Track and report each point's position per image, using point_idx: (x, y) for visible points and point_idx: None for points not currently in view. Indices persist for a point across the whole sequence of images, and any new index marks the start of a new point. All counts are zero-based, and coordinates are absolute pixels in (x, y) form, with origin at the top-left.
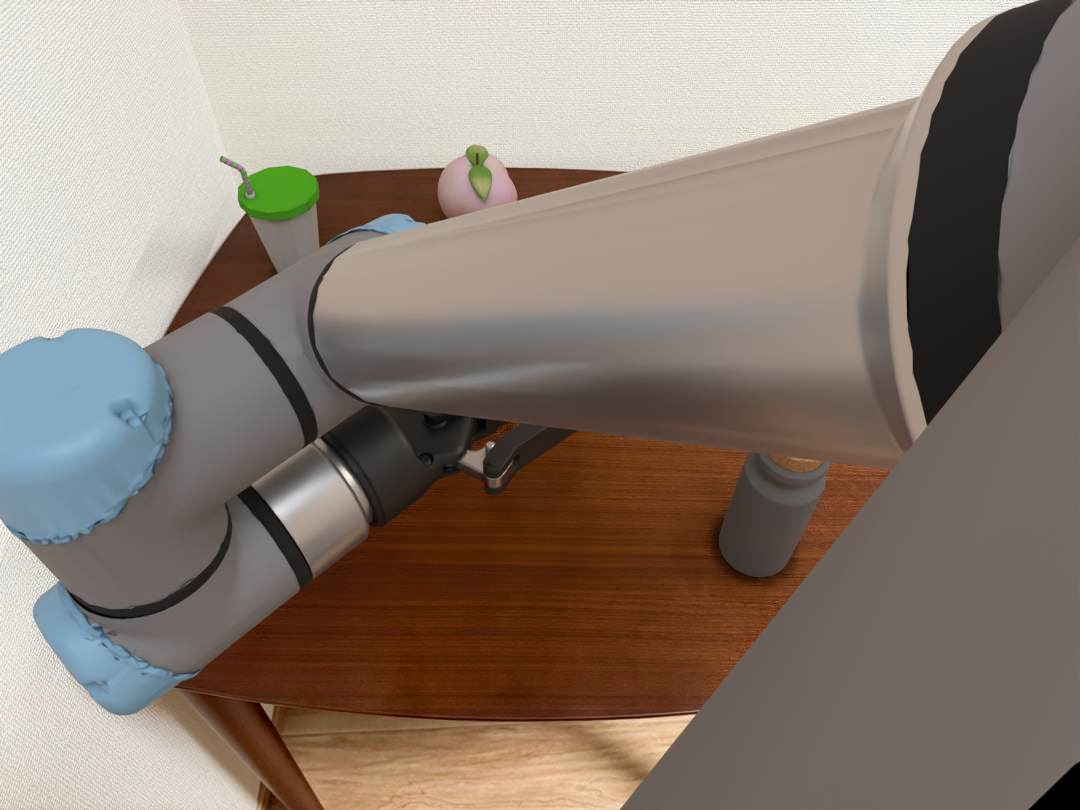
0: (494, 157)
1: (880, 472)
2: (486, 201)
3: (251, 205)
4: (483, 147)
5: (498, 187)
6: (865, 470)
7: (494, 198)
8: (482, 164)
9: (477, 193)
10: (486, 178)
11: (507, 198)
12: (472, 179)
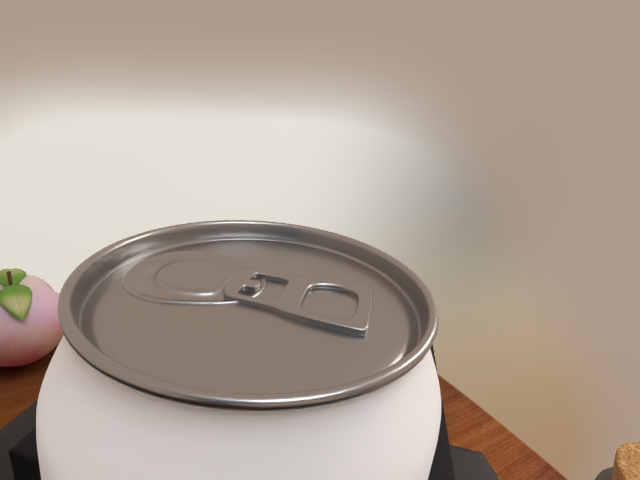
0: (35, 277)
1: (537, 471)
2: (26, 321)
3: None
4: (19, 269)
5: (42, 303)
6: (527, 475)
7: (37, 315)
8: (18, 284)
9: (11, 313)
10: (23, 294)
11: (56, 313)
12: (2, 299)
